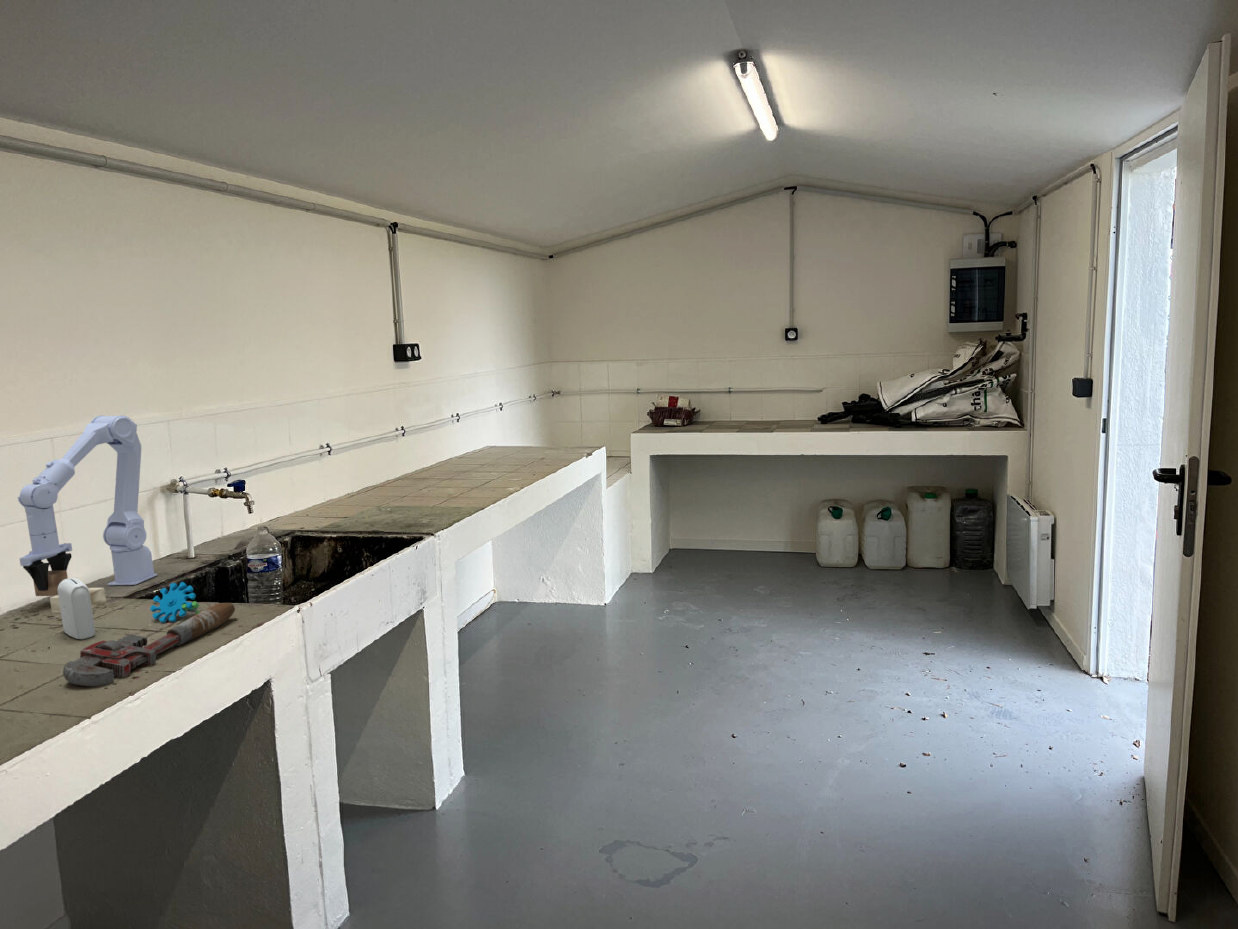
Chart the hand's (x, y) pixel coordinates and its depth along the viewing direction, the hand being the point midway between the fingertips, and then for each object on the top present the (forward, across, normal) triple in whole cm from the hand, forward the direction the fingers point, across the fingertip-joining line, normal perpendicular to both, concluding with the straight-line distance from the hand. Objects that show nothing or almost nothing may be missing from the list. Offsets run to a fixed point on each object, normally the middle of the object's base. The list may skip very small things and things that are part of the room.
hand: (51, 587), depth 220 cm
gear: (+4, +13, +41) cm, 43 cm away
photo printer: (+4, +23, +25) cm, 34 cm away
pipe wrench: (+5, +33, +50) cm, 60 cm away
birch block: (+4, +4, +10) cm, 11 cm away
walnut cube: (+2, 0, 0) cm, 2 cm away
